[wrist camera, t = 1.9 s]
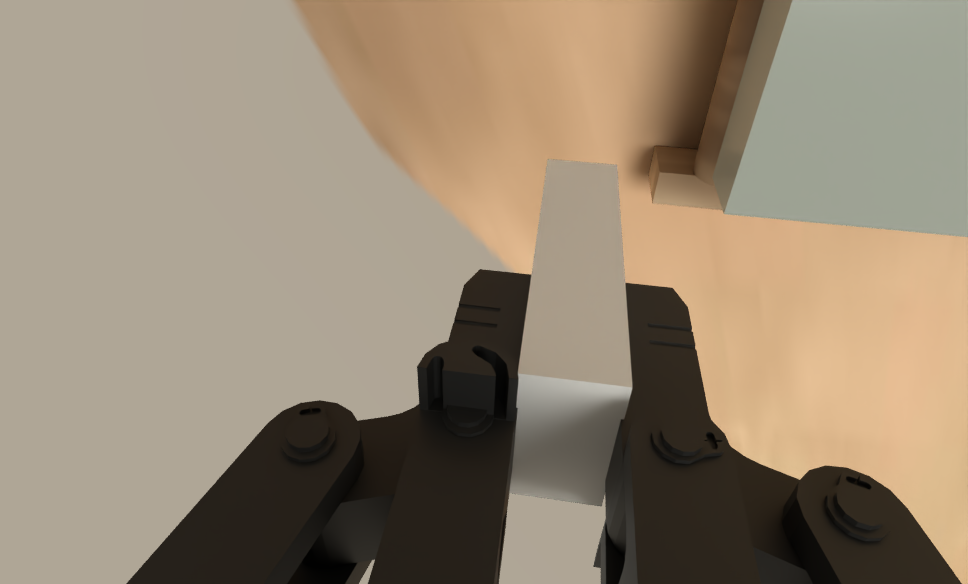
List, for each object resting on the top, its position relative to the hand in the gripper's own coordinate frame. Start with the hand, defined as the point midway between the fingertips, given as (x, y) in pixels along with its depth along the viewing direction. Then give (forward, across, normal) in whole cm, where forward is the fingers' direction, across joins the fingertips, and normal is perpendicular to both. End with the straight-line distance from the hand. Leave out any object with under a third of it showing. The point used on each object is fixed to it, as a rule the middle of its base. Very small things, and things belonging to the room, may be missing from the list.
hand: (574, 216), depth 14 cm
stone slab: (+12, +12, 0) cm, 17 cm away
